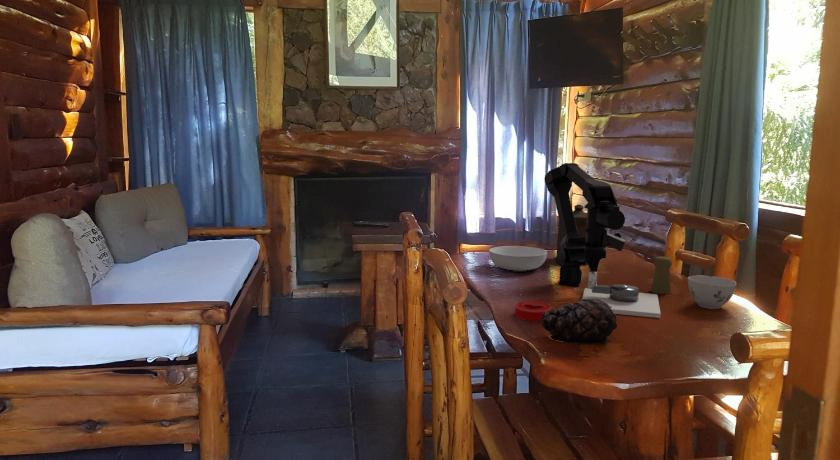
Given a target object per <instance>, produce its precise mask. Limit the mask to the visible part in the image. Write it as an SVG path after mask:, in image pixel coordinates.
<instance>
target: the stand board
mask: <svg viewBox="0 0 840 460" xmlns="http://www.w3.org/2000/svg"><path fill="white" fill-rule="evenodd" d="M609 296H610V294H602V293H592V289H588V287H585V288H584V291H583V294H582V296H581V297H582V298H581V300H582V299H599V300H601V301H604V302H605V303H607V304H608V305H609V307H610V308H611V309H612V311H613V313H614V314H615V315H624V316H633V317H634V316H636V317H645V318H658V319H661V309H660V303H659V296H658V293H648V292H647V293H646V292H639V297H638V300H637V301H633V302H623V301H617V300H613V299H611V298H610V297H609Z"/></svg>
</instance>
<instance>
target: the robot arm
mask: <svg viewBox="0 0 840 460" xmlns="http://www.w3.org/2000/svg"><path fill="white" fill-rule="evenodd" d="M544 183H545V186H546V189H547V192H548V193H549V194H550V195H551V196H552V197H553V198H554V203H555V207H556V213H557V216H558V223H559V222H560V227H561V231H562V236H563V239H562V241H561V244H560V251H559V253H558V254H557V253H556V256H555V258H554V261H555V263H554V264H555V265H556V266H559V280H558V285H561V286H571V287H579V286H580V284H582V279H583V269H582V268H581V267H586V262H587V263H588V264H587V266H588V269H589V271H596V272H597V271H598V269H599V264H600V261H601V260H602V259H607V249H606V248H607V246H608V247H611V248H613V249H616V251H619V252H622V251H623V248H624V246H625V245H626V244H625V243H626V240H625V239H624V238H622V233H620V232H619V231H618V230H621V228H622V227H624V225H625V222H626V216H625V214H624V212H622V211H621V210H620V205H618V203H617V202H618V201H617V199H616V196H615V194H614V191H613V188H612V186H611V184H609V183H608V182H606V181H603V180H599V179H595V178H594V177H592V176H591V175H590V174H588V172H586V171H585V170H583V169H582V168H581V167H580V165H579V164H578V163H576V162H566V163H565V162H564V163H562V164H560V166H558V167H555V168H552V169H550V170H549V171H548V172H547V173H546V174H545V175H544ZM573 184H575V185H576V186H577V187H578V188H579V189H580V190H581V191H582V192H581V193H582V197H583V198H584V199H585V201H586V202H587V203H586V204H585V205H584V206H583V207H584V208H583V209H585V210H586V209H587V212H586V213H587V227H586V239H585V237H580V236H579V235H578V232H577V228H576V223H575V219H574V214H573V211H574V210H573V206H572V201H571V197H570V191H571V189H572V186H573ZM608 229H610V230H614V231H618V232H614V233H609V232H608ZM597 273H598V272H597Z"/></svg>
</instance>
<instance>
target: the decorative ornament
mask: <svg viewBox="0 0 840 460" xmlns="http://www.w3.org/2000/svg"><path fill="white" fill-rule="evenodd" d="M514 310H515V312H514V313H515V314H514V315H516V316H517V317H518V318H517V317H516V316H515V317H516V318H517V319H519V318H521V319H524V320H523V321H525V320H529V321H528V322H533V321H540V319H542V317H543V315H542V314H543V313H545V312H549V313H550V311H552V310H553V307H552V306H551V305H550V304H549V303H545V302H542V301H535V300H525V301H521V302H518V303H516V304H515V309H514ZM521 319H520V320H521Z"/></svg>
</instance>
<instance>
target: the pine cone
mask: <svg viewBox="0 0 840 460" xmlns="http://www.w3.org/2000/svg"><path fill="white" fill-rule="evenodd" d="M542 315H543V317H542V319H540V322H539V323H540V325H541V326H542V327H543V328H544V329H545V330H546V331H547V332H549V335H550V334H551V335H552V336H551V338H552V339H554V340H559V341H563V342H566V343H565V344H573V343H574V344H576V345H577V344H583V345H584V344H589V345H601V344H608V342H610V341H611V339H610V336H611V335H612V333H613V331H615V329H617V328H618V324H617V314H614V313H613V311H612V309H611V308H610V307H609V305H608V304H607V303H605V302H604V301H601V300H599V299H582V298H581V300H580V301H575V302H574V301H573V302H570V303H568V304H565V303H563V305H560V306H559V308H557V309H555V308H552V311H550V313H549V312H545V313H543V314H542Z"/></svg>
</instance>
